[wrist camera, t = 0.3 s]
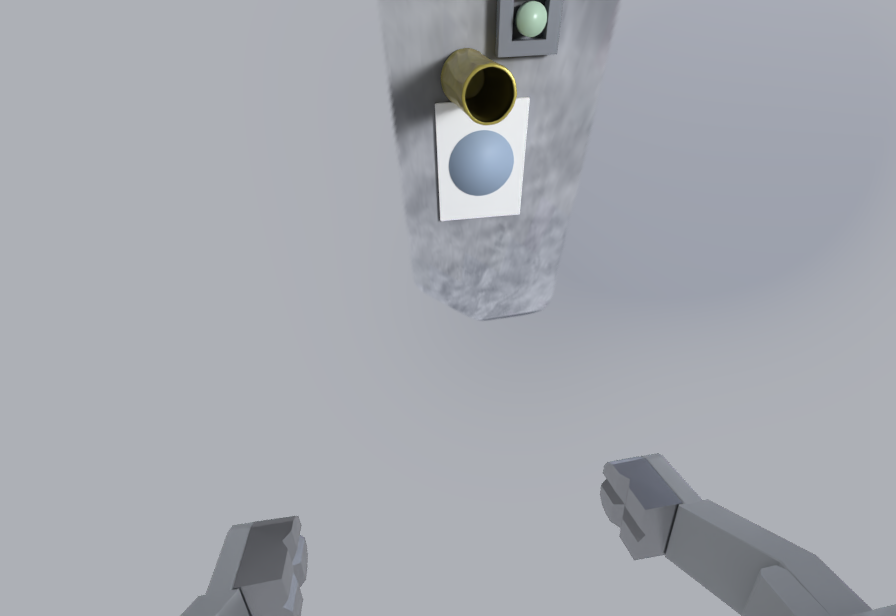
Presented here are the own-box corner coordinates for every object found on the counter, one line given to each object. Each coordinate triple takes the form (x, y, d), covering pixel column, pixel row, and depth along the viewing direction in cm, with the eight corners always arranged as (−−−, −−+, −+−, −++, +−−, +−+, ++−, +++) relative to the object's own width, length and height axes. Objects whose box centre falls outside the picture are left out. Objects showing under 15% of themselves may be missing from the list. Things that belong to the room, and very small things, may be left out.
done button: (516, 1, 45) (519, 2, 44) (544, 0, 45) (548, 0, 44) (514, 36, 47) (517, 37, 46) (541, 35, 47) (545, 36, 46)
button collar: (497, -21, 44) (501, -21, 43) (560, -23, 45) (566, -23, 44) (495, 55, 49) (498, 57, 47) (552, 52, 49) (557, 54, 48)
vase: (498, 59, 49) (533, 72, 37) (479, 113, 52) (505, 139, 40) (450, 39, 47) (471, 45, 36) (433, 95, 50) (447, 118, 39)
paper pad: (434, 103, 51) (435, 104, 51) (528, 97, 52) (530, 97, 52) (440, 219, 61) (440, 221, 61) (518, 213, 62) (519, 214, 62)
